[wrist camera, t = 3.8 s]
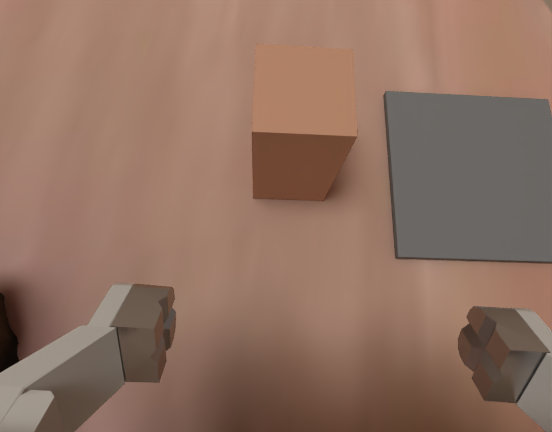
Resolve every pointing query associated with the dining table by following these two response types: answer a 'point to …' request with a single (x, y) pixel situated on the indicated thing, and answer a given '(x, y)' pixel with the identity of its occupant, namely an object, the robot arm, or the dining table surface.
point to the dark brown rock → (6, 340)
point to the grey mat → (470, 177)
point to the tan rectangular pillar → (301, 120)
